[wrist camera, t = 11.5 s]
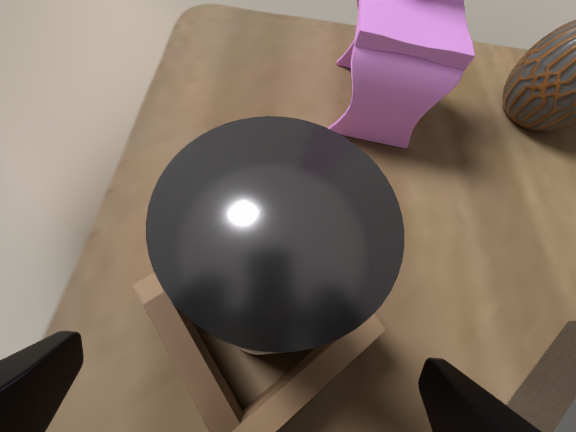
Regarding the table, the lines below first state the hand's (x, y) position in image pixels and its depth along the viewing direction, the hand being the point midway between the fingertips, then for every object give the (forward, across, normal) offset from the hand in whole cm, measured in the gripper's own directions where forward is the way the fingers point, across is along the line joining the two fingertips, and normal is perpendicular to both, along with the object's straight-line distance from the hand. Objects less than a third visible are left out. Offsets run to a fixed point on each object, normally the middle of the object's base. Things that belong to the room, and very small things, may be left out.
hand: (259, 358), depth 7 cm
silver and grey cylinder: (+7, 0, +4) cm, 8 cm away
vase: (+20, -22, -9) cm, 31 cm away
